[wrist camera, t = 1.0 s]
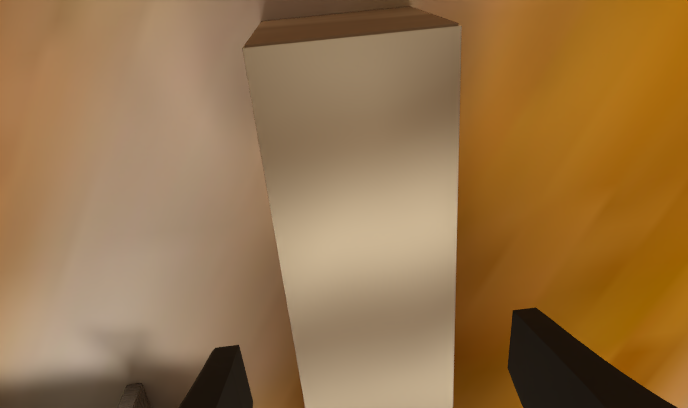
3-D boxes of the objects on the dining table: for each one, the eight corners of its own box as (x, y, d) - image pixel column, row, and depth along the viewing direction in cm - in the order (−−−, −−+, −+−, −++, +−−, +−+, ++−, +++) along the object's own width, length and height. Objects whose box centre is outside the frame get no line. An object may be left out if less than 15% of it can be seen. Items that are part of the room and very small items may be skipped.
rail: (419, 391, 21) (450, 502, 17) (319, 404, 21) (324, 520, 17) (410, 5, 14) (461, 23, 10) (259, 21, 14) (241, 46, 10)
